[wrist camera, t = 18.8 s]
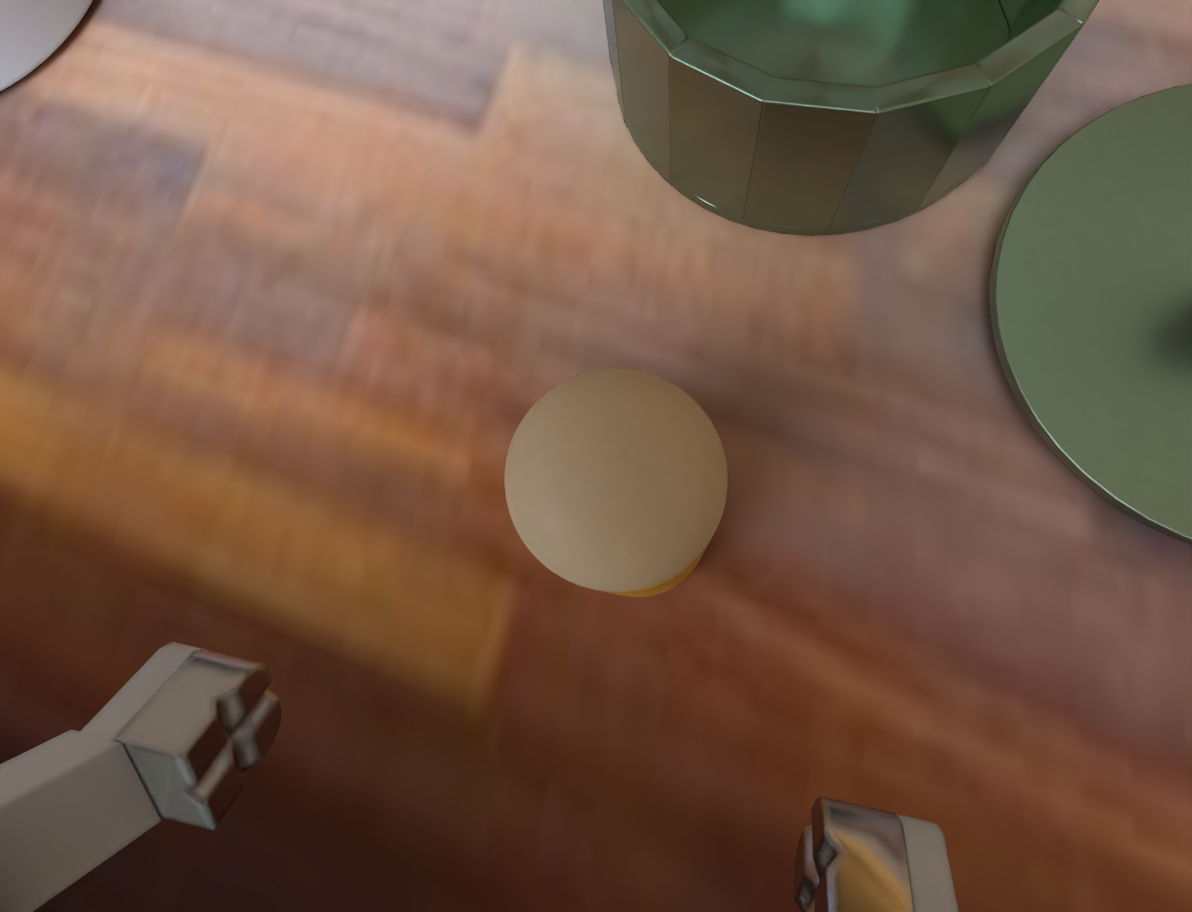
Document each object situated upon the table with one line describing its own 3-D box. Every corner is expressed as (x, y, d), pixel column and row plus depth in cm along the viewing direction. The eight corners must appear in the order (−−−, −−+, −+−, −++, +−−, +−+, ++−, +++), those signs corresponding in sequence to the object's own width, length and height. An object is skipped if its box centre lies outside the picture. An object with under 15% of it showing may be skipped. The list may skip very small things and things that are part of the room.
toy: (540, 545, 24) (427, 494, 13) (617, 431, 24) (571, 290, 13) (657, 625, 23) (642, 643, 12) (735, 505, 23) (788, 418, 12)
